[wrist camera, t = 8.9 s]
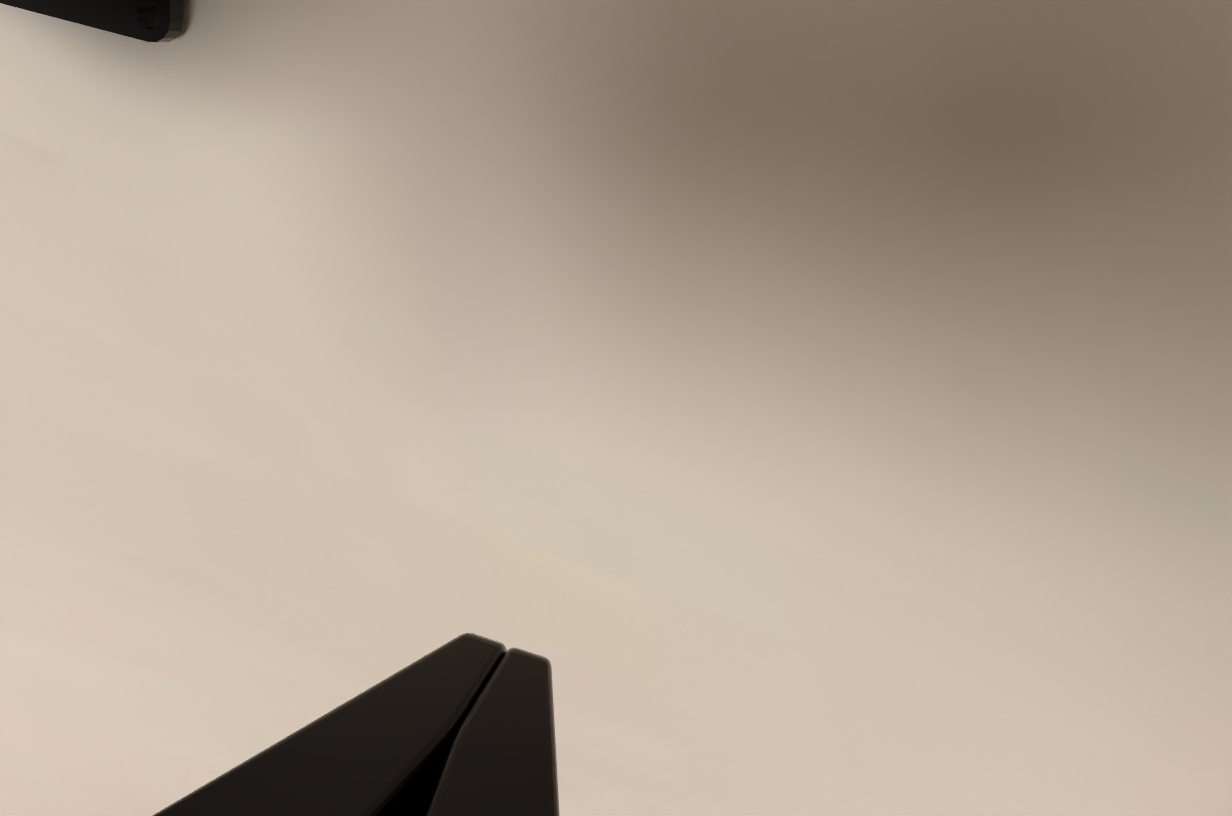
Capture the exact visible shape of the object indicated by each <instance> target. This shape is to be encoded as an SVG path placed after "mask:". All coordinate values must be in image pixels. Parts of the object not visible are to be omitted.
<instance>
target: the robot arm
mask: <svg viewBox="0 0 1232 816" xmlns="http://www.w3.org/2000/svg"><path fill="white" fill-rule="evenodd" d="M0 3H2V4H6V5H10V6H14V7H18V8H21V9H25V10H29V11H33V12H37V13H41V14H44V15H48V16H52V17H56V18H60V19H63V20H67V21H71V22H75V23H79V24H82V25H86V26H90V27H94V28H98V29H102V30H105V31H109V32H113V33H117V34H121V35H124V36H128V37H132V38H136V39H140V40H144V41H147V42H169V41H171V40H173V39H175V38H176V37H177V36H178V34H179V33H180V31H181V27H182V20H183V0H0ZM152 6H154V7H155V8H156V10H157V11H158V15H159V23H158V26H157V27H156V26H155V25H154V23H153V22H152V21H151V17H150V10H151V7H152ZM153 816H559V800H558V781H557V763H556V744H555V726H554V707H553V689H552V670H551V664H550V661H549V660H548V659H547V658H545V657H542V656H539V655H536V654H533V653H530V652H527V651H524V650H521V649H518V648H511V649H509V650H508V651H507V650H506V647H505V646H504V644H502V643H500V642H497V641H494V640H491V639H488V638H485V637H482V636H479V635H476V634H473V633H466V634H462V635H460V636H458V637H457V638H455V639H453V640H452V641H450V642H448V643H446V644H445V645H443V646H441V647H440V648H438V649H436V650H434V651H433V652H431V653H429V654H428V655H426V656H424V657H423V658H421V659H419V660H417V661H416V662H414V663H412V664H411V665H409V666H407V667H405V668H404V669H402V670H400V671H399V672H397V673H395V674H394V675H392V676H390V677H388V678H387V679H385V680H383V681H382V682H380V683H378V684H376V685H375V686H373V687H371V688H370V689H368V690H366V691H364V692H363V693H361V694H359V695H358V696H356V697H354V698H353V699H351V700H349V701H347V702H346V703H344V704H342V705H341V706H339V707H337V708H335V709H334V710H332V711H330V712H329V713H327V714H325V715H324V716H322V717H320V718H318V719H317V720H315V721H313V722H312V723H310V724H308V725H306V726H305V727H303V728H301V729H300V730H298V731H296V732H294V733H293V734H291V735H289V736H288V737H286V738H284V739H283V740H281V741H279V742H277V743H276V744H274V745H272V746H271V747H269V748H267V749H265V750H264V751H262V752H260V753H259V754H257V755H255V756H253V757H252V758H250V759H248V760H247V761H245V762H243V763H242V764H240V765H238V766H236V767H235V768H233V769H231V770H230V771H228V772H226V773H224V774H223V775H221V776H219V777H218V778H216V779H214V780H213V781H211V782H209V783H207V784H206V785H204V786H202V787H201V788H199V789H197V790H195V791H194V792H192V793H190V794H189V795H187V796H185V797H183V798H182V799H180V800H178V801H177V802H175V803H173V804H172V805H170V806H168V807H166V808H165V809H163V810H161V811H160V812H158V813H156V814H154V815H153Z"/></svg>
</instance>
